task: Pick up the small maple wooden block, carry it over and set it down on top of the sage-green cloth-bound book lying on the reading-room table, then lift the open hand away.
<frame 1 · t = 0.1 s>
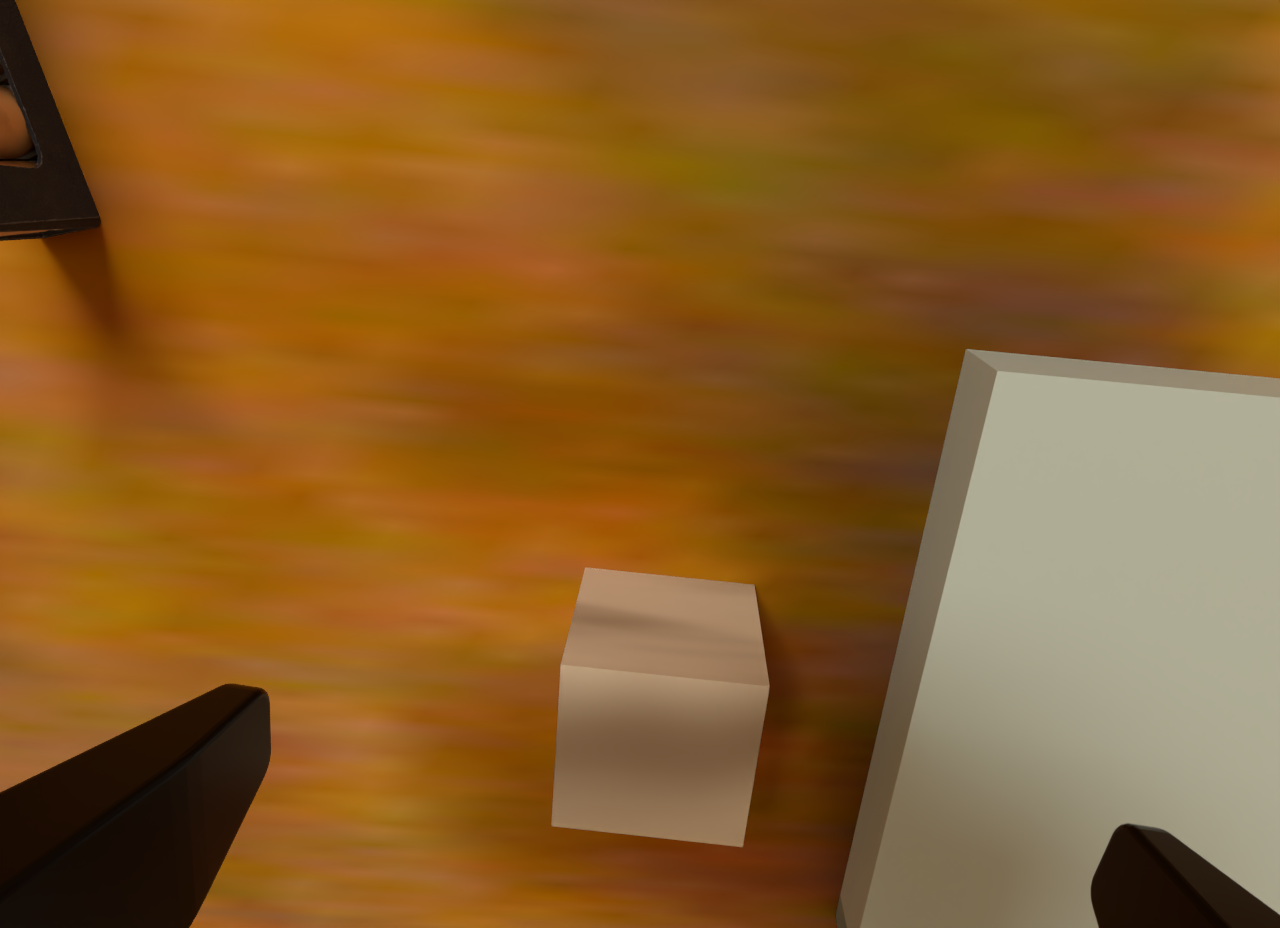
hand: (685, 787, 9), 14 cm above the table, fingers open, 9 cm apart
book: (1121, 692, 25), on the table
maple block: (661, 646, 25), on the table
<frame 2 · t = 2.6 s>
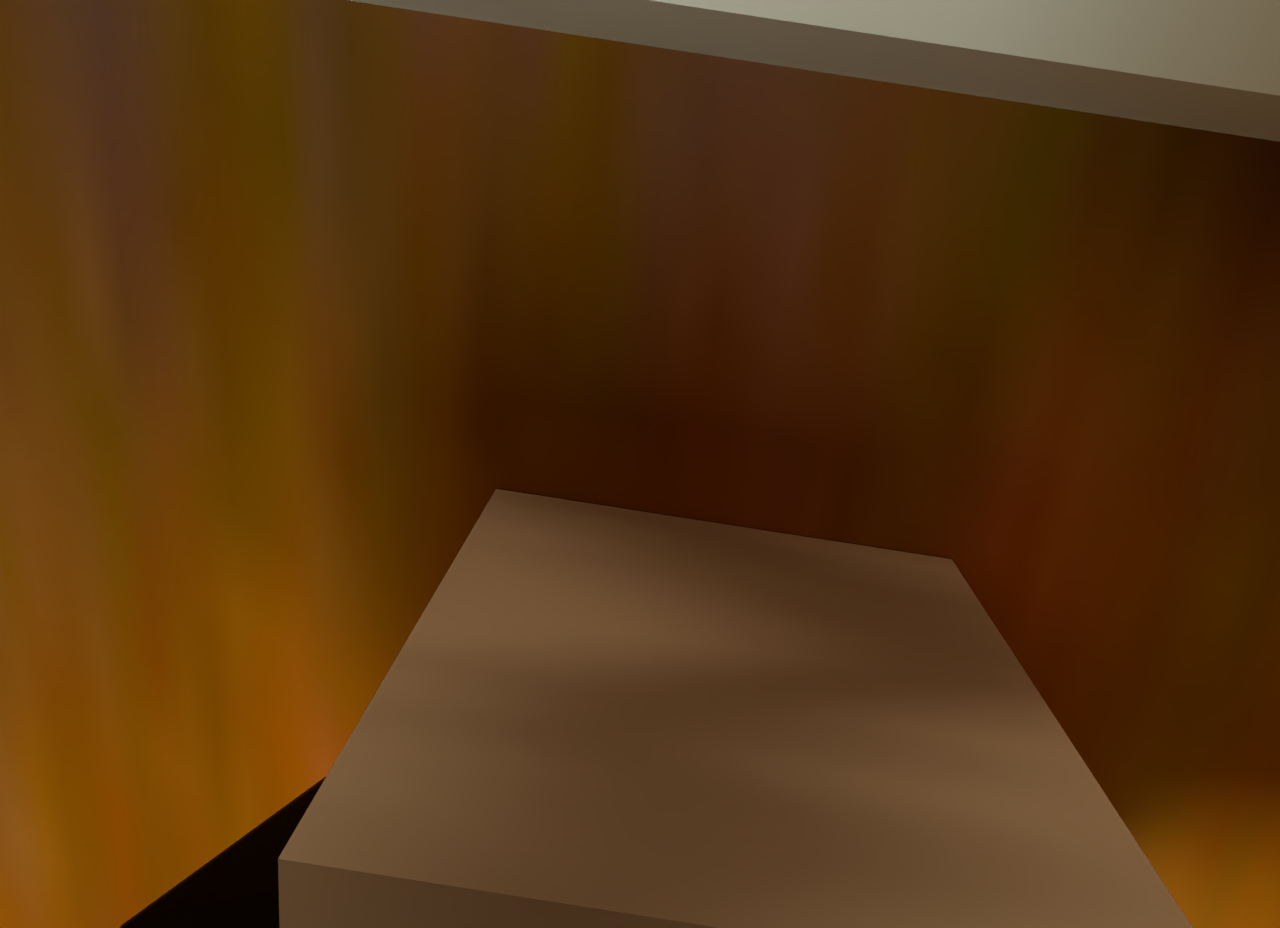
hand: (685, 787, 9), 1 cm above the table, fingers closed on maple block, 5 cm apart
maple block: (686, 712, 10), on the table, touching gripper
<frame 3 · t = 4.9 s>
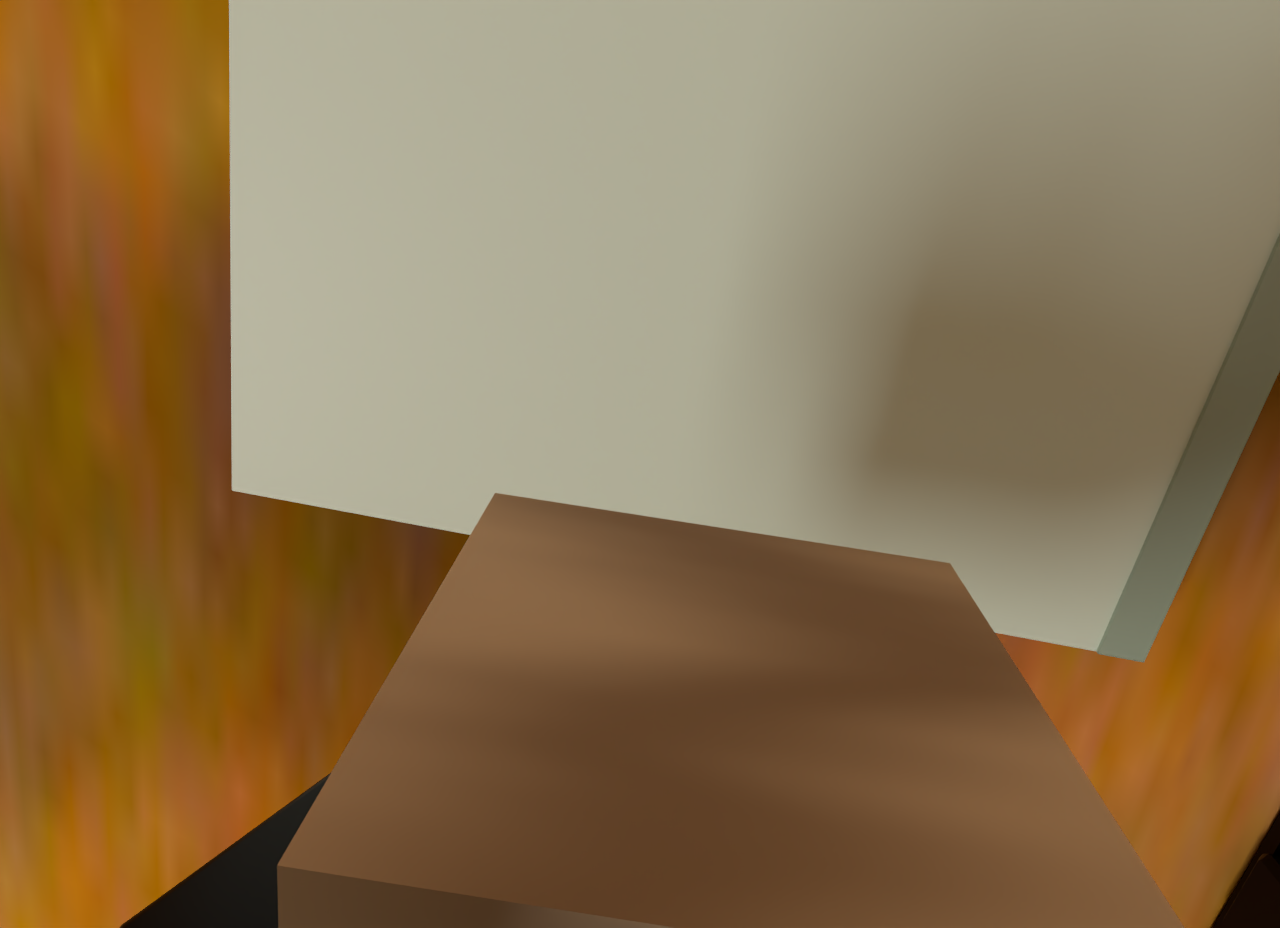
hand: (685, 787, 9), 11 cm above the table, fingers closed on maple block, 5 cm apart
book: (747, 236, 18), on the table
maple block: (685, 715, 10), point 10 cm above the table, touching gripper
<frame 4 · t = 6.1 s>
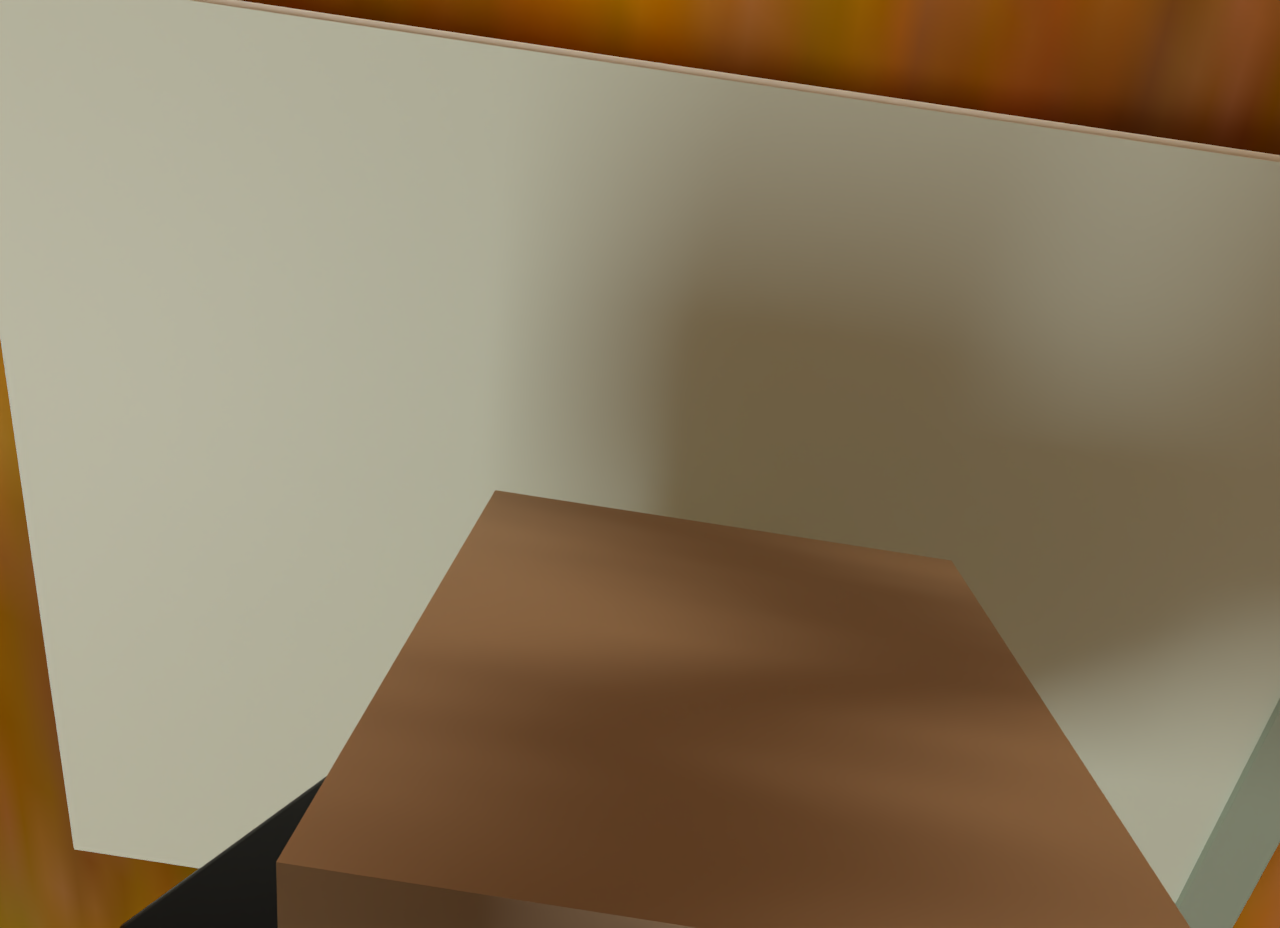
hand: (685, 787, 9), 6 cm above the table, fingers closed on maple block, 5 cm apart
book: (683, 525, 15), on the table
maple block: (685, 713, 10), point 5 cm above the table, touching gripper
when the fingers open (5 cm above the table, at t = 7.1 s): maple block drops 2 cm, resting on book.
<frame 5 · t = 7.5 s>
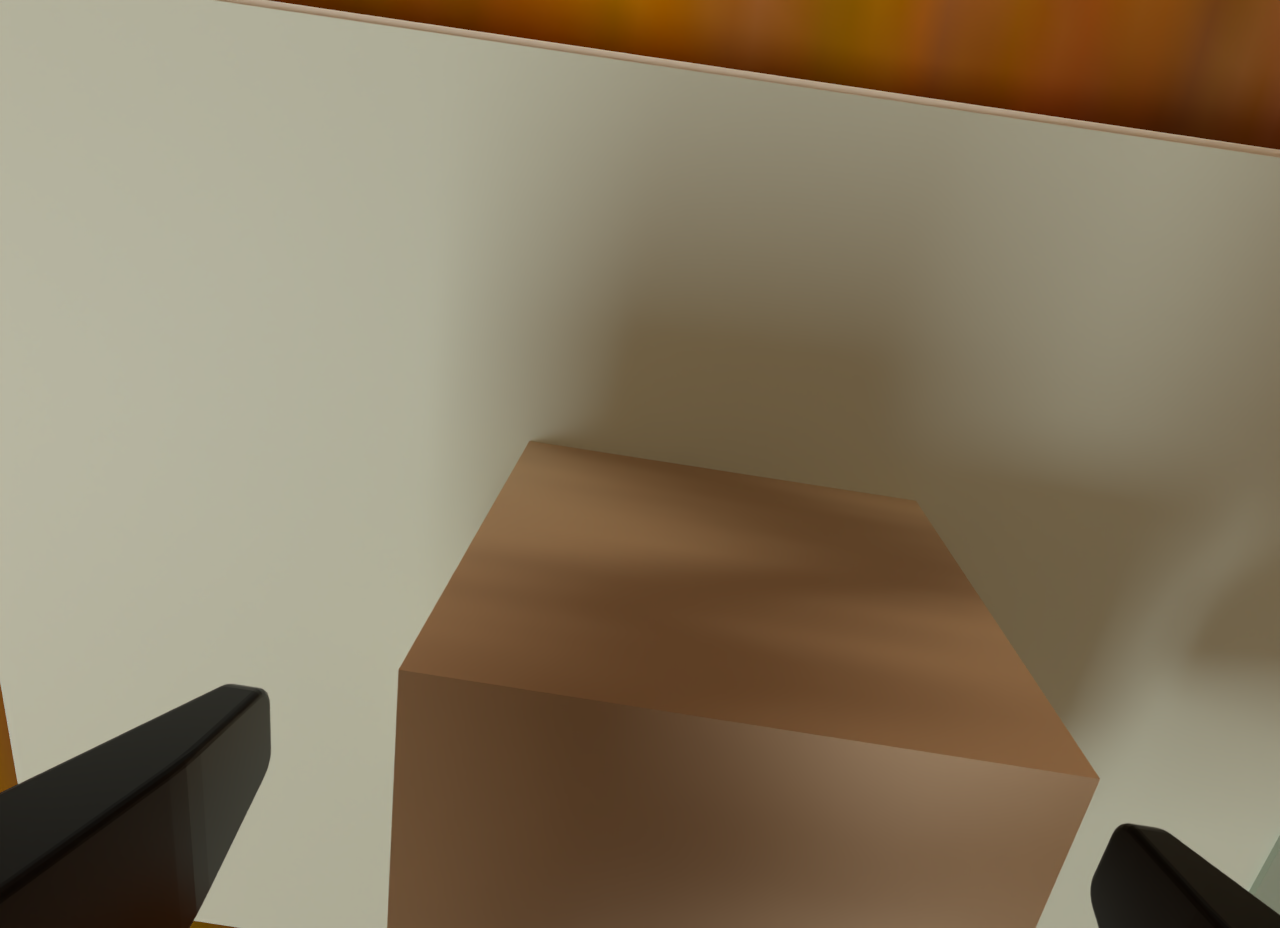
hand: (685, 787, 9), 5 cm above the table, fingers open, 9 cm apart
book: (684, 553, 14), on the table, touching maple block
maple block: (690, 636, 11), point 2 cm above the table, touching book
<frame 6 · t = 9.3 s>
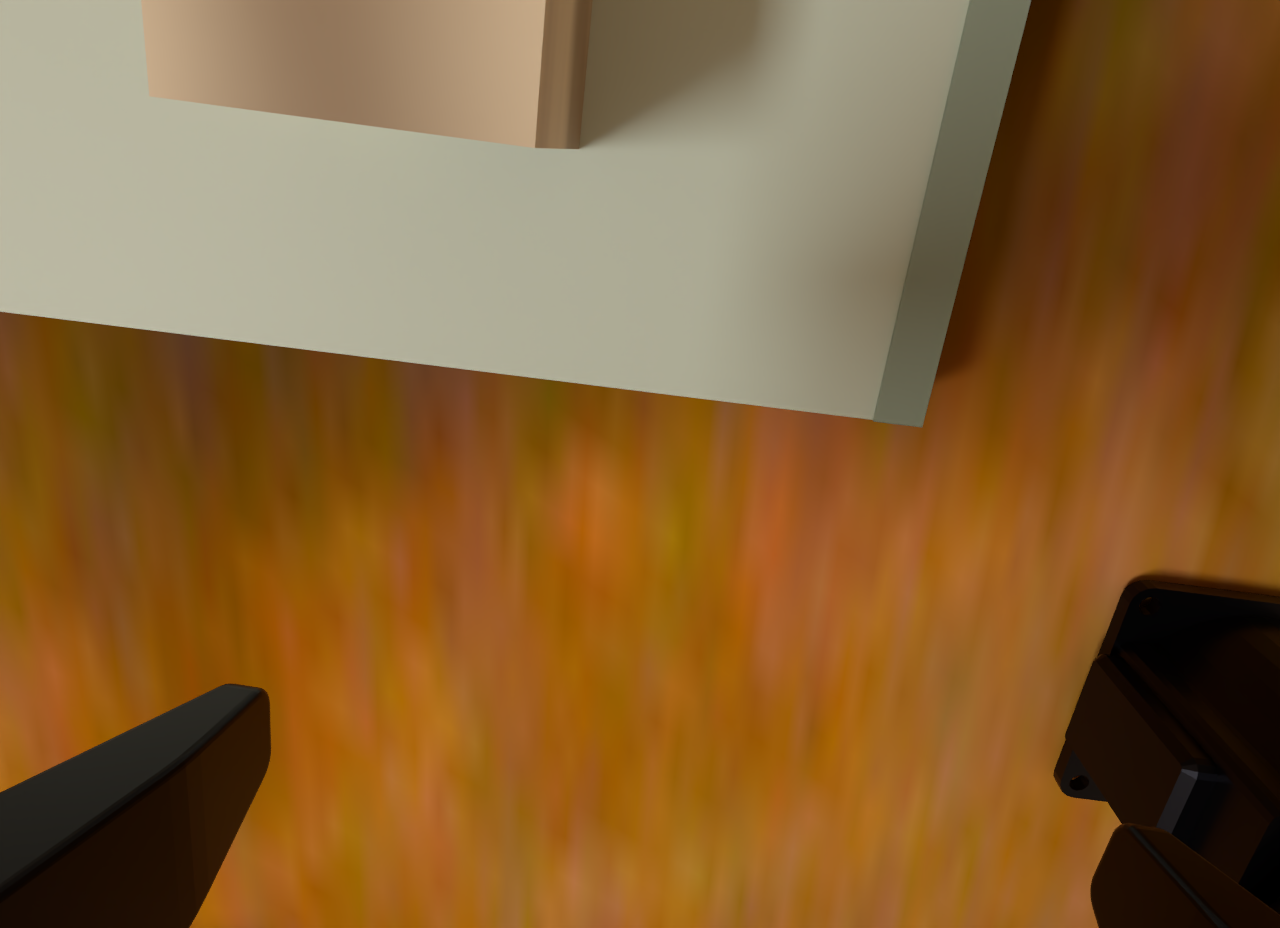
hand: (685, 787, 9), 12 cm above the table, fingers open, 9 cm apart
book: (476, 1, 17), on the table, touching maple block
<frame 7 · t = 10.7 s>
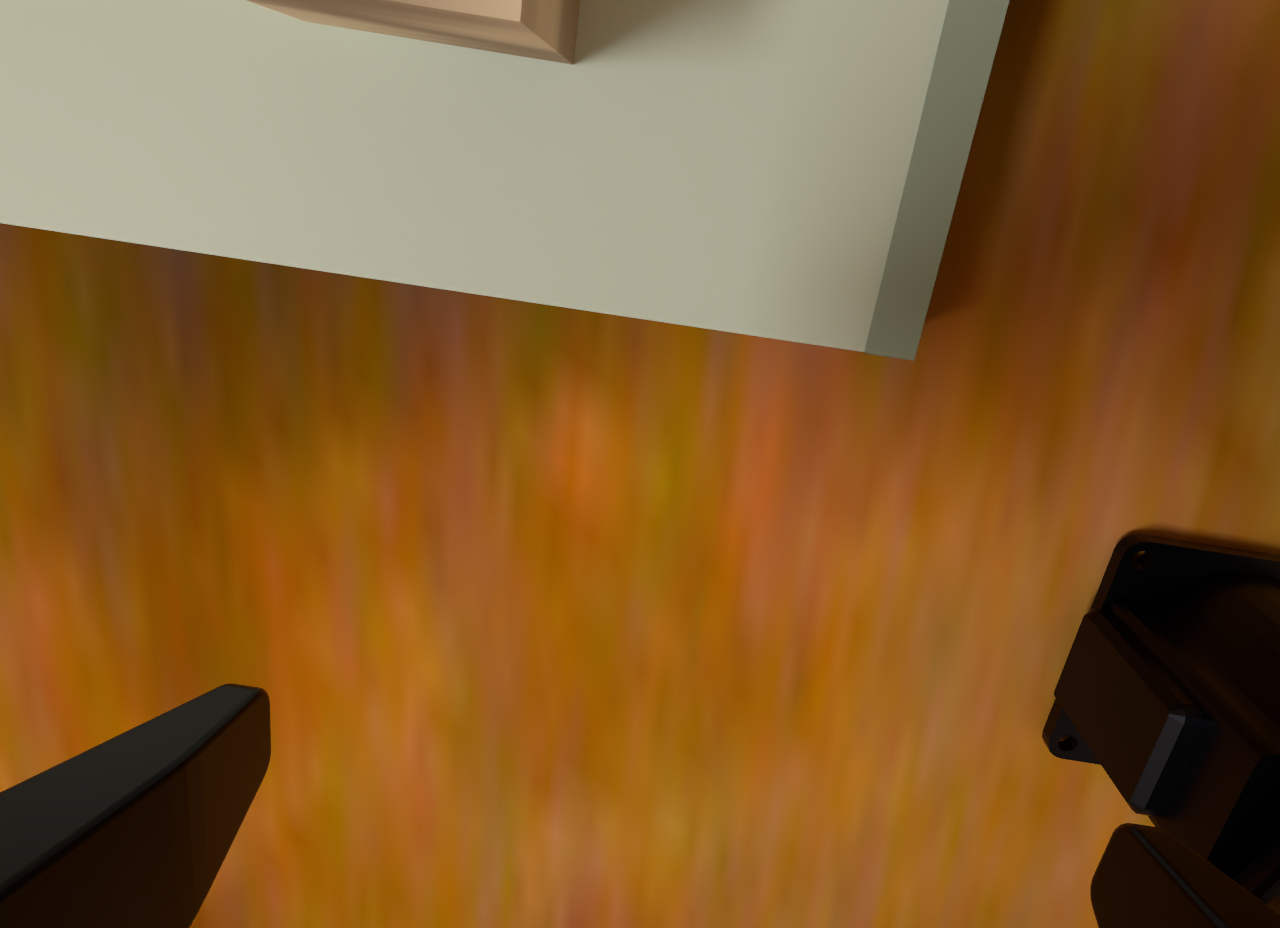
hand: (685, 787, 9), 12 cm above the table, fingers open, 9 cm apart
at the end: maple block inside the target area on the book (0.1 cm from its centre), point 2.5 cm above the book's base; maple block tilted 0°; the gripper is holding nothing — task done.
